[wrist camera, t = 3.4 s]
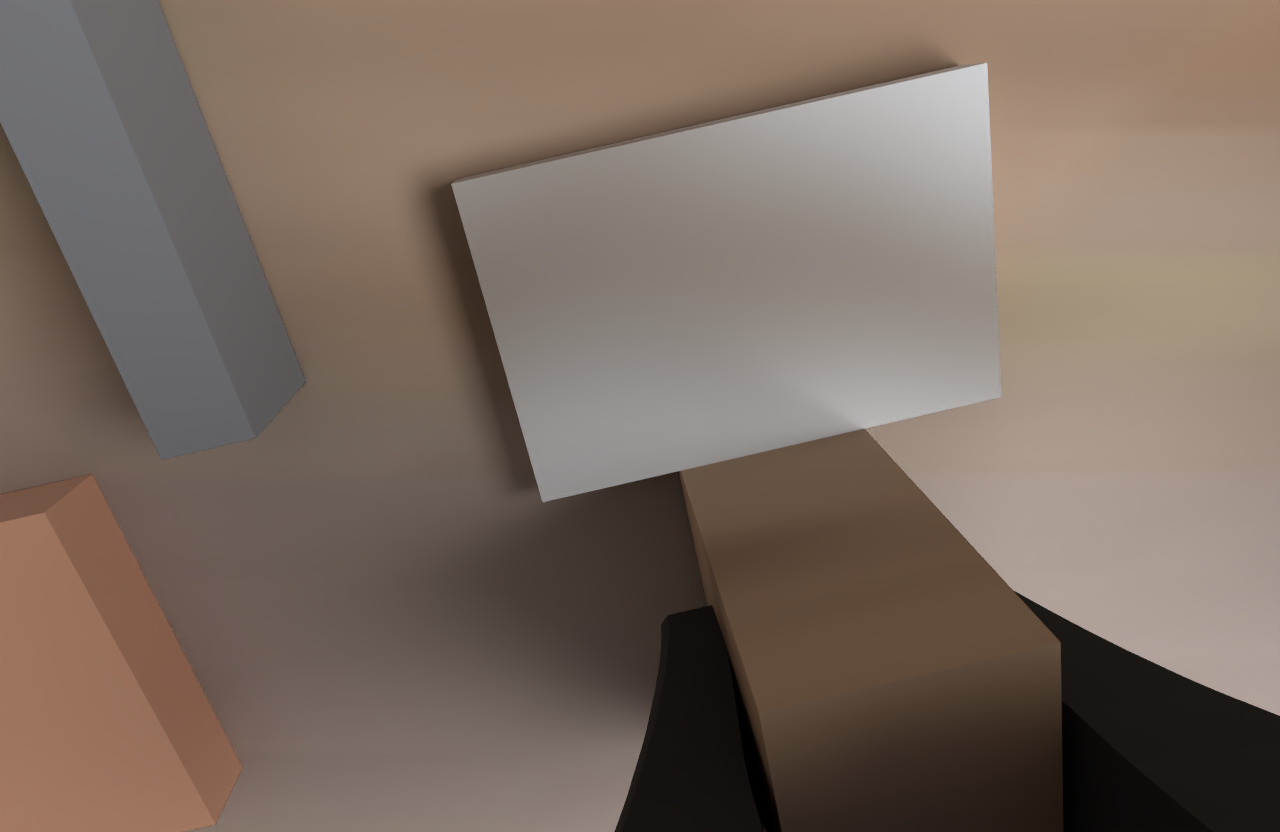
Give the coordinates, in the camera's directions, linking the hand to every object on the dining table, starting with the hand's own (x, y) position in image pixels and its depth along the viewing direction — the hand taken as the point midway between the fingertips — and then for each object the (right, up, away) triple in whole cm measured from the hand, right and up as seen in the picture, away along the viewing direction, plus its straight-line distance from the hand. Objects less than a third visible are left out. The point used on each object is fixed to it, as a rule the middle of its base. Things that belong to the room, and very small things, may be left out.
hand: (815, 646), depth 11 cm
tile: (-11, 0, +1) cm, 11 cm away
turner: (-1, +2, +1) cm, 2 cm away
